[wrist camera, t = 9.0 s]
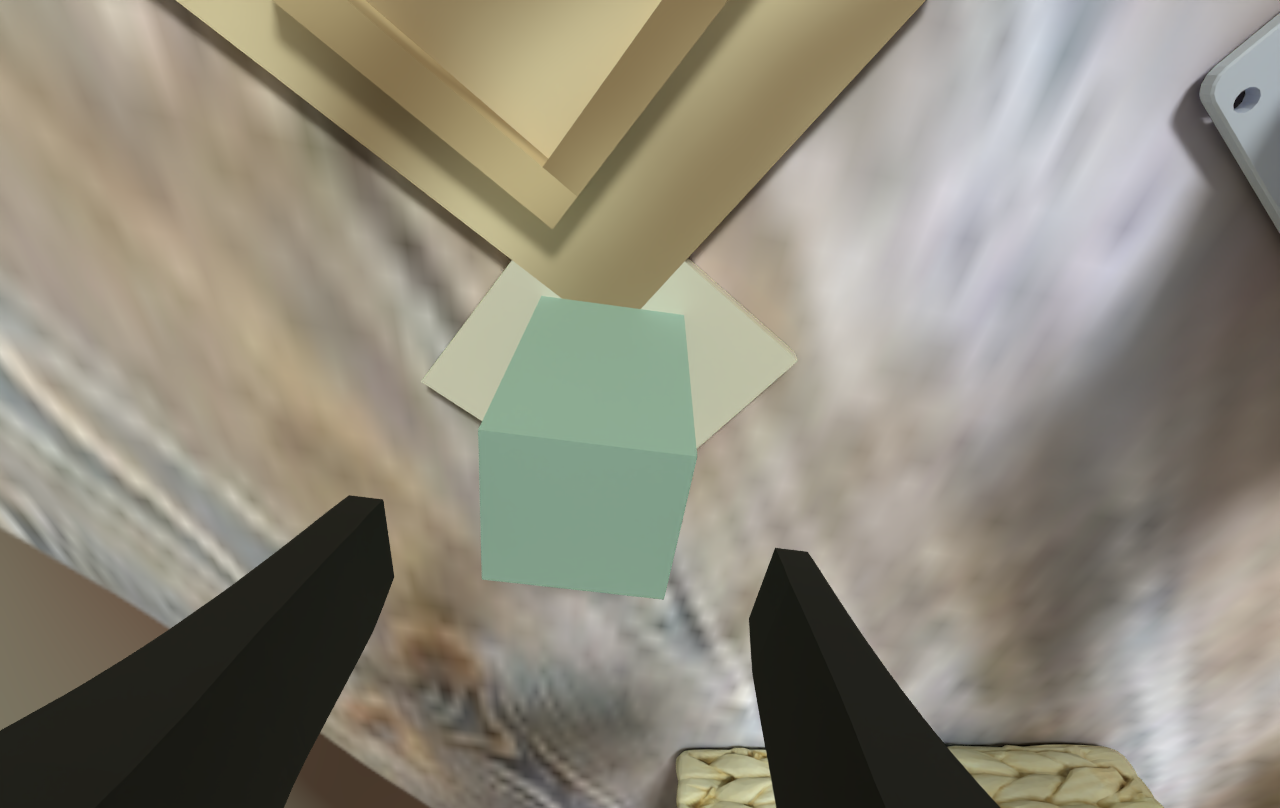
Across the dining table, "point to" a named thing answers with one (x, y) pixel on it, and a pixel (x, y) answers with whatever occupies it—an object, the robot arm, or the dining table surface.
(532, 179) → the pocket board
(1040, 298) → the dining table surface
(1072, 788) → the storage basket
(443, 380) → the coaster
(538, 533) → the block
